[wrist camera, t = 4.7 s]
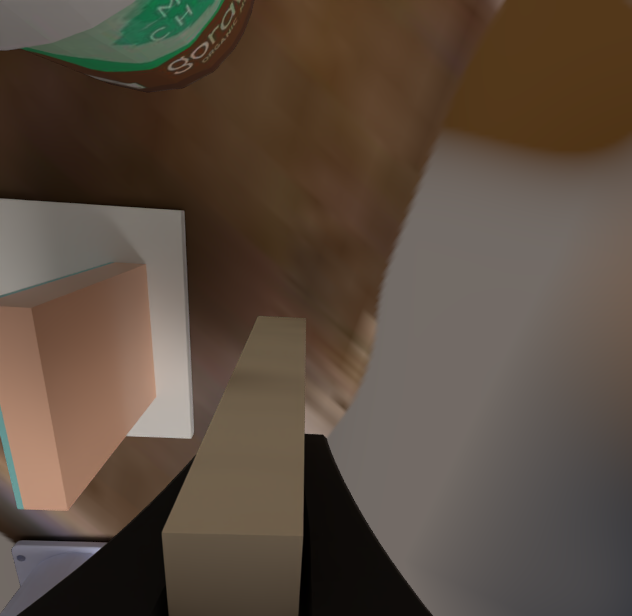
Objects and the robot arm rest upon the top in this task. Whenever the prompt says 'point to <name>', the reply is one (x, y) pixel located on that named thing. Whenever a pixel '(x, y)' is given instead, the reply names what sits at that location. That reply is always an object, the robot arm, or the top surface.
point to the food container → (128, 37)
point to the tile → (72, 378)
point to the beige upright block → (245, 489)
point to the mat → (103, 247)
